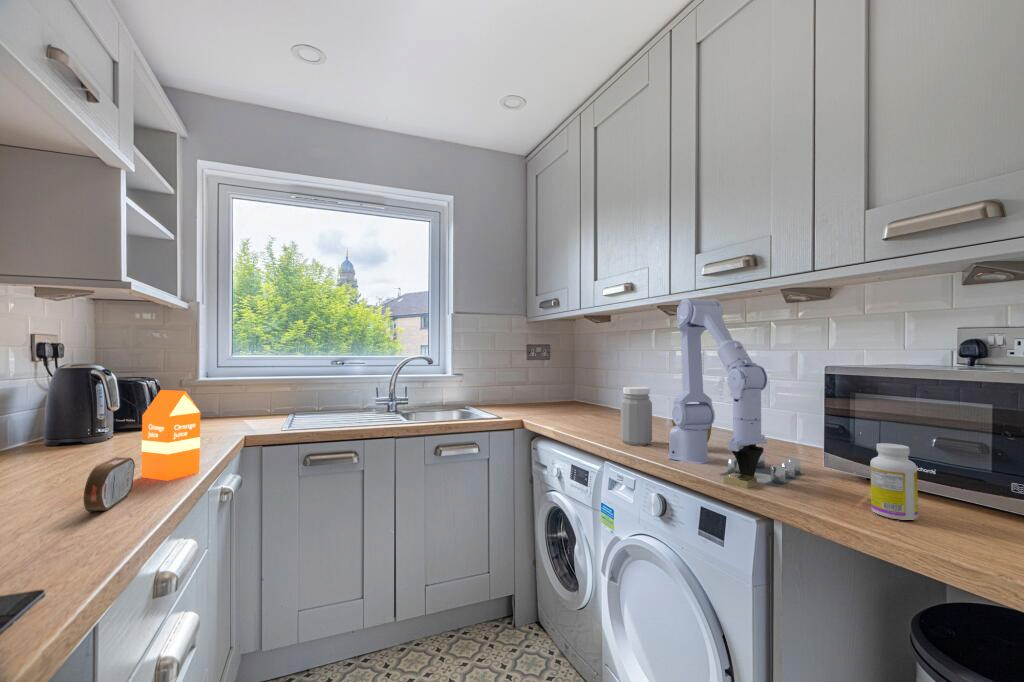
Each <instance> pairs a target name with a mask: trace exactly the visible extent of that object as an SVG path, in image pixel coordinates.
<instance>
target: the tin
mask: <svg viewBox="0 0 1024 682" xmlns="http://www.w3.org/2000/svg"><path fill="white" fill-rule="evenodd" d="M135 466H136V465H135V461H134V459H133V458H131V457H118V456H115V457H113V458H110V459H108V460H107V461H103V462H102V463H100V464H97V465H96V466H95V467H93V469H92V470H91V472H89V475H88V477H87V479H86V483H85V486H84V491H83V506H84V509H85V511H86V512H89V513H92V512H104V511H108V510H110V509H112V508H114V507H115V506H116V505H117V504H118V503H120V502H121V501H123V500H124V499H126V498H127V497H128V496H129V494H130V493H131V490H132V488H133V485H134V476H135V475H134V474H135V468H136V467H135Z"/></svg>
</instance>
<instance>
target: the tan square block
mask: <svg viewBox="0 0 1024 682" xmlns="http://www.w3.org/2000/svg"><path fill="white" fill-rule="evenodd" d="M723 484H724V485H729V486H732V487H737V488H741V489H745V490H748V489H750V488H753V487H755V486H757V485H758V483H757V477H753V476H748V475H743V474H738V473H732V474H729V475H726V476H723Z"/></svg>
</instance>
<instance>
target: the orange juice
mask: <svg viewBox="0 0 1024 682" xmlns="http://www.w3.org/2000/svg"><path fill="white" fill-rule="evenodd" d="M141 420H142V423H141V424H142V425H141V426H142V430H141V432H142V433H141V436H142V437H141V470H140V471H141V473H140V474H141V475H140V476H141V477H140V478H144V479H154V480H158V481H159V480H161V481H172V480H175V479H179V478H184V477H186V476H190V475H191V476H192V475H194V474H195V475H196V474H198V473H200V455H201V454H200V453H201V411H200V409H199V408H198V407H197V406H196V404H195V403H194V401H193V400H192V398H191V397H190V396H189V394H188V393H187V391H186V390H168V389H167V390H165V389H160V390H159V391H158V393H157V395H156V396H155V397H154V399H153V400H152V402H151V403H150V405H149V406H148V407H147V409H145V411H144V413H143V414H142V419H141Z"/></svg>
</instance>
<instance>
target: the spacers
mask: <svg viewBox="0 0 1024 682" xmlns="http://www.w3.org/2000/svg"><path fill="white" fill-rule="evenodd" d="M765 466H766V453H764V452H763V453H762V454H761V456H760V458H759V460H758V463H757V466H756V468H765ZM770 467H771V482H772V483H776V484H784V485H785V479H794V480H796V479H795V475H800V474H801V473H802V471H801V459H800V458H797V457H786V460H785V461H783V460H782V461H780V465H779V464H778V465H776V464H775V465H774V464H772V465H771V466H770ZM727 472H728V473H729V474H732V473H738V474H740V470H739V466H738V463H737V460H736V458H735V457H734V456H733V457H732V456H731V457H727Z"/></svg>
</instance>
